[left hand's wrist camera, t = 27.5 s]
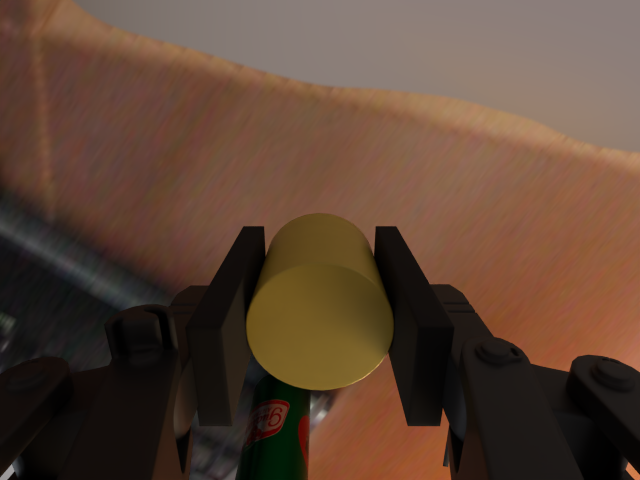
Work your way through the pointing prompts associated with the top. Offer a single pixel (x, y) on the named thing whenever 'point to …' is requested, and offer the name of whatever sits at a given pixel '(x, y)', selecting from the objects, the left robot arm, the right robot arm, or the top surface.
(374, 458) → the top surface
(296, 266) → the tin
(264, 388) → the soda can
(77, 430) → the left robot arm
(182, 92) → the top surface
